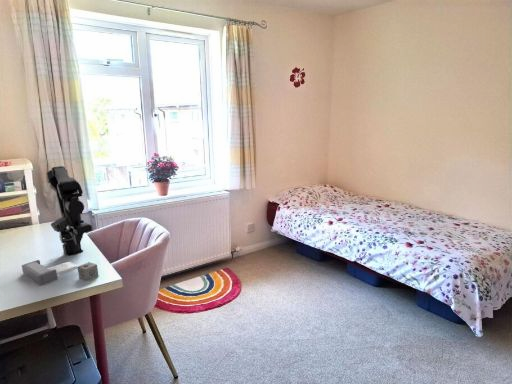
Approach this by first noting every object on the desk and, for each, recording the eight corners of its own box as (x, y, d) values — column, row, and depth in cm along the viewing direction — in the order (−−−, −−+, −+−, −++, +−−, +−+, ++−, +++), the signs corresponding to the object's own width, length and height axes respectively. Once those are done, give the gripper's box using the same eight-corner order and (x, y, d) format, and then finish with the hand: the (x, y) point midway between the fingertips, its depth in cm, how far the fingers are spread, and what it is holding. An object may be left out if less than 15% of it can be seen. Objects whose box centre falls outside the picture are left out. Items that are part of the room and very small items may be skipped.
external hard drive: (37, 275, 139) (69, 264, 149) (45, 280, 134) (77, 269, 143) (36, 271, 139) (68, 260, 148) (44, 276, 134) (77, 265, 143)
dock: (40, 268, 144) (38, 259, 143) (57, 279, 133) (56, 270, 132) (23, 274, 139) (21, 265, 138) (40, 286, 129) (38, 276, 128)
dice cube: (79, 278, 133) (77, 266, 132) (90, 273, 138) (89, 262, 136) (86, 281, 131) (85, 269, 130) (98, 276, 135) (96, 264, 134)
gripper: (42, 211, 143) (48, 246, 146) (61, 218, 131) (68, 256, 135) (69, 205, 151) (75, 238, 155) (90, 211, 140) (95, 247, 143)
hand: (77, 244), depth 147 cm, fingers closed
